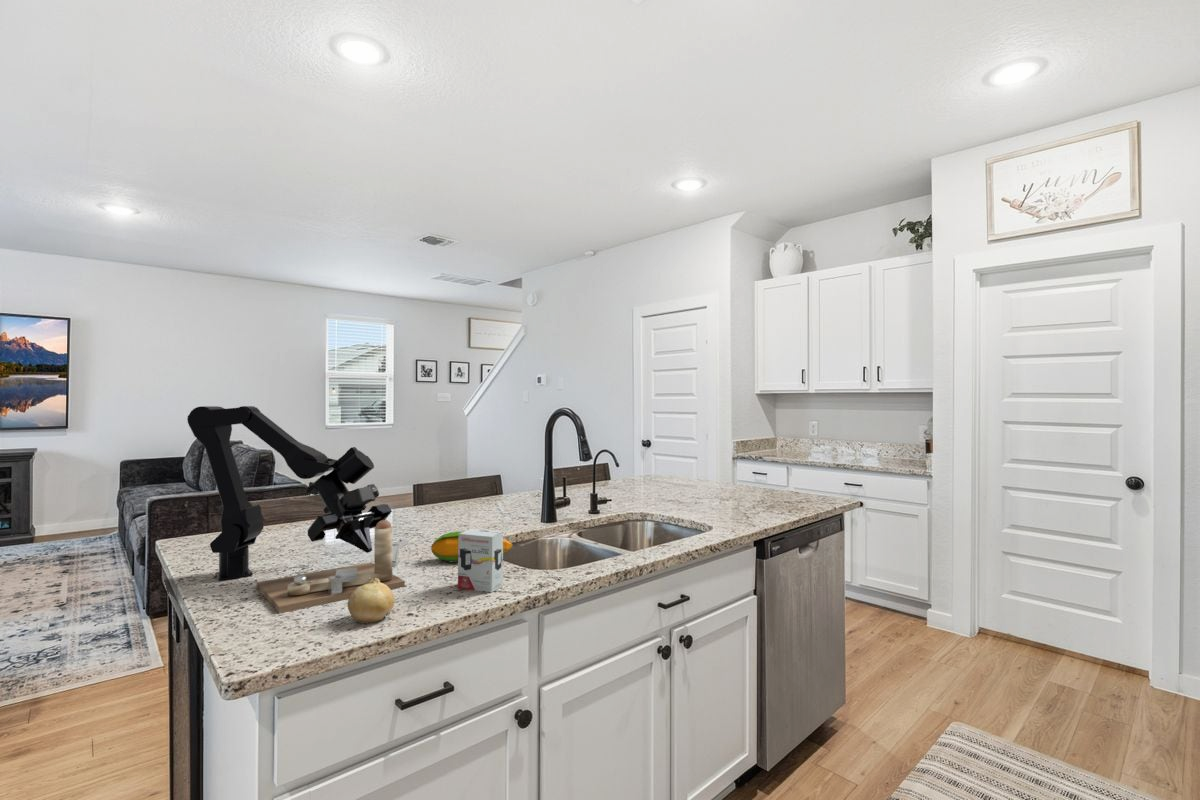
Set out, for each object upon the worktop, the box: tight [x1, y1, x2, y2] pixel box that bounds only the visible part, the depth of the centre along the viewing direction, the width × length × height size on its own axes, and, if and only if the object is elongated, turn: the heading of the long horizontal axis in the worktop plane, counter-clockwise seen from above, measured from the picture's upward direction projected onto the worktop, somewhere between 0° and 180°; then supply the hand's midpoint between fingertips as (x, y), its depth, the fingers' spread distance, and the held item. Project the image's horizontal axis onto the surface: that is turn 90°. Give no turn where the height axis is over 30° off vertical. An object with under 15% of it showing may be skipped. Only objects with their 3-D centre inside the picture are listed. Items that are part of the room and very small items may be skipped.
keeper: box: [294, 568, 357, 595], centre depth 117 cm, size 8×12×3 cm, turn 131°
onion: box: [346, 577, 395, 624], centre depth 105 cm, size 8×8×7 cm
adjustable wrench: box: [392, 538, 410, 568], centre depth 150 cm, size 25×6×2 cm, turn 12°
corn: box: [430, 530, 513, 562], centre depth 146 cm, size 7×8×20 cm
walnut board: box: [256, 561, 406, 614], centre depth 123 cm, size 20×24×1 cm
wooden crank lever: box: [288, 519, 393, 595], centre depth 120 cm, size 20×4×13 cm, turn 123°
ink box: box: [457, 528, 504, 593], centre depth 123 cm, size 9×5×12 cm, turn 70°
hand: (369, 551), depth 127 cm, fingers closed
